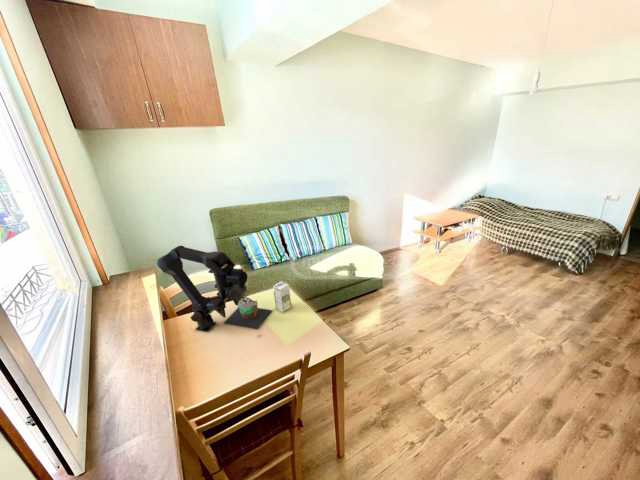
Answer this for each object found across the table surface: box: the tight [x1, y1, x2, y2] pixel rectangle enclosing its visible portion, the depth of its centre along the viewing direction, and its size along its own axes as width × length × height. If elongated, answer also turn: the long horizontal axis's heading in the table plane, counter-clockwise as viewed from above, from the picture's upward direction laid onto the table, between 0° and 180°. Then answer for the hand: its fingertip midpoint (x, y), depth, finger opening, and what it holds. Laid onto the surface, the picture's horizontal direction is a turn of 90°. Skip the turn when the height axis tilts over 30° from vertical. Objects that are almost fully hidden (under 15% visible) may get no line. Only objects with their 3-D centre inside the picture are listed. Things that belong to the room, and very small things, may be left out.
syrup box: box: [272, 281, 292, 313], centre depth 143 cm, size 6×6×14 cm
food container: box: [236, 296, 259, 319], centre depth 137 cm, size 12×6×10 cm, turn 60°
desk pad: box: [223, 307, 272, 330], centre depth 139 cm, size 18×14×1 cm
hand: (230, 311), depth 125 cm, fingers open, 9 cm apart
